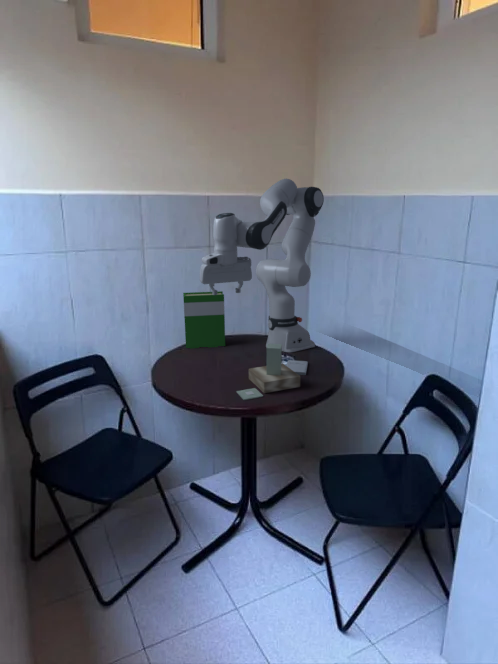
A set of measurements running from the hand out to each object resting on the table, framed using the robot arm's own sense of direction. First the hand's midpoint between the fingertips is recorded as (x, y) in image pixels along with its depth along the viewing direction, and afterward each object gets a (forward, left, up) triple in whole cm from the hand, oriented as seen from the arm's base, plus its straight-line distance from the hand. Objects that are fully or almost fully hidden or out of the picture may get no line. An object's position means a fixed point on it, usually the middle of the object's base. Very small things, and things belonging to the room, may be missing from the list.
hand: (226, 293), depth 172 cm
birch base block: (-9, +24, -29) cm, 39 cm away
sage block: (-9, +24, -25) cm, 36 cm away
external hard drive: (-23, +15, -30) cm, 41 cm away
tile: (+3, +30, -29) cm, 42 cm away
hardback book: (+1, -28, -29) cm, 41 cm away
